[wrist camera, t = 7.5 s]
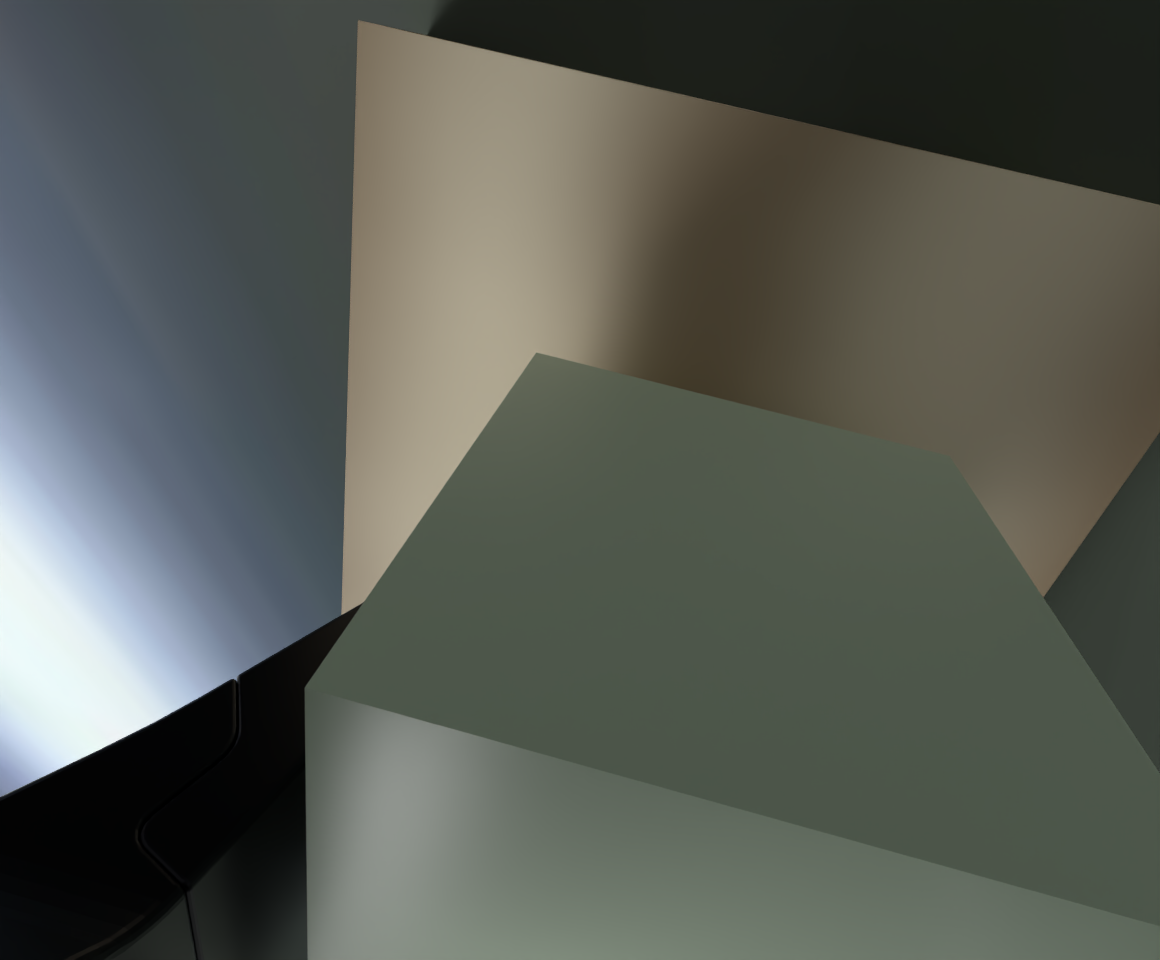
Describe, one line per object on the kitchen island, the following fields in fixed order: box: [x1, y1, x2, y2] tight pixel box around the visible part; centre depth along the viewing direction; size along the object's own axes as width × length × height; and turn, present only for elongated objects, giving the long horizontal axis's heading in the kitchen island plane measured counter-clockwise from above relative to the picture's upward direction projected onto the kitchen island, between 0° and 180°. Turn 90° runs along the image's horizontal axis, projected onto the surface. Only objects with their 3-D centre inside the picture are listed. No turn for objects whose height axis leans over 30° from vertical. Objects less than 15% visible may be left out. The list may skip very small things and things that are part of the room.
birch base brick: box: [342, 20, 1160, 614], centre depth 13 cm, size 12×12×3 cm
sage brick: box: [305, 352, 1160, 960], centre depth 8 cm, size 6×6×6 cm
